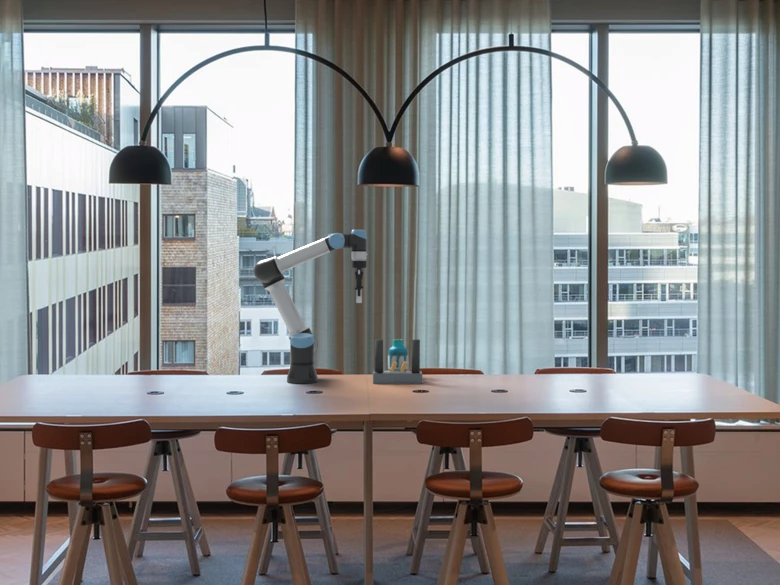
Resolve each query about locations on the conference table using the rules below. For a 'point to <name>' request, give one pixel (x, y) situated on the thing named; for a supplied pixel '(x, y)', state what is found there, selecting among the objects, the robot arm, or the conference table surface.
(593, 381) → the conference table surface
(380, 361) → the post left
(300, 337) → the robot arm
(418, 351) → the post right
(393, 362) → the paddle
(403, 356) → the vase
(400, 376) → the gray rectangular base
